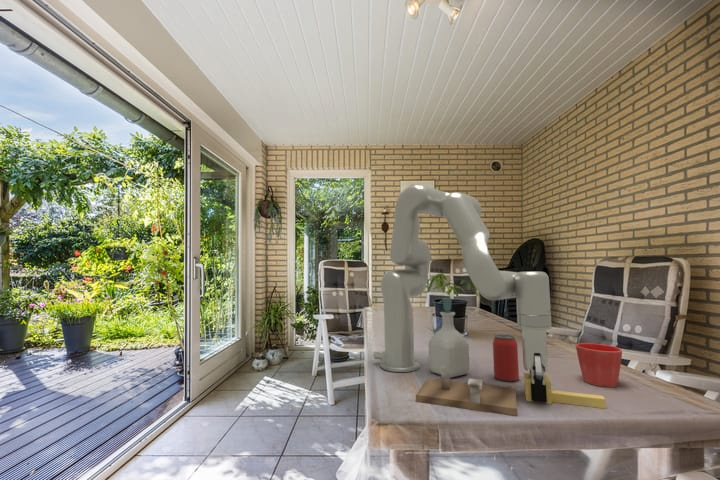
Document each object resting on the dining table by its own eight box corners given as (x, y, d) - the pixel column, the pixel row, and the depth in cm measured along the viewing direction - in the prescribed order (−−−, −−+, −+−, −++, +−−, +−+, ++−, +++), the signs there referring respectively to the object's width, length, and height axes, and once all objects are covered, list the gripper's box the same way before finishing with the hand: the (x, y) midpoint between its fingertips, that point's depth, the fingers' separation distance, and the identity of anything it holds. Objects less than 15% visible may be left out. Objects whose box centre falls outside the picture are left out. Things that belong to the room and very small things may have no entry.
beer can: (514, 375, 101) (512, 334, 102) (522, 382, 95) (520, 338, 96) (491, 375, 102) (489, 334, 103) (498, 382, 95) (496, 338, 97)
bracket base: (415, 401, 81) (415, 371, 82) (428, 383, 94) (427, 357, 95) (517, 416, 73) (515, 382, 74) (515, 394, 86) (514, 365, 86)
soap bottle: (426, 372, 105) (424, 297, 107) (448, 367, 110) (446, 296, 112) (450, 380, 97) (447, 299, 99) (472, 374, 102) (470, 298, 104)
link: (526, 400, 81) (525, 379, 82) (525, 393, 86) (524, 373, 87) (607, 411, 75) (606, 387, 76) (601, 402, 80) (599, 380, 81)
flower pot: (618, 379, 97) (616, 344, 98) (629, 391, 87) (626, 352, 88) (575, 374, 102) (573, 341, 103) (581, 386, 92) (578, 349, 93)
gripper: (516, 316, 94) (519, 384, 92) (518, 325, 78) (522, 407, 76) (547, 317, 91) (551, 388, 89) (556, 327, 75) (561, 413, 74)
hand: (537, 396), depth 83 cm, fingers closed on link, 5 cm apart
